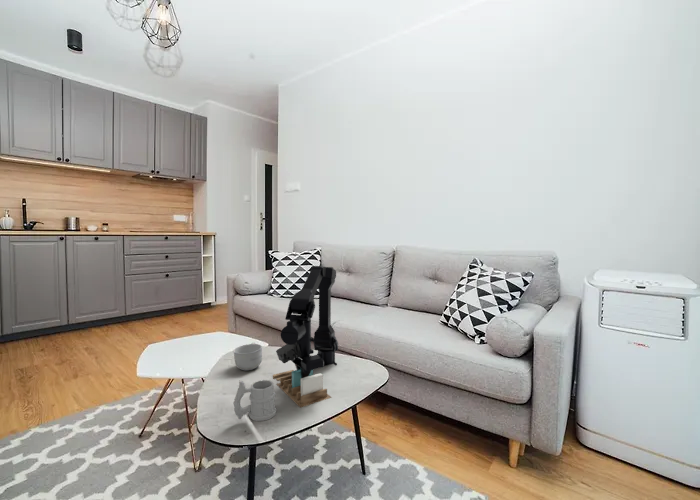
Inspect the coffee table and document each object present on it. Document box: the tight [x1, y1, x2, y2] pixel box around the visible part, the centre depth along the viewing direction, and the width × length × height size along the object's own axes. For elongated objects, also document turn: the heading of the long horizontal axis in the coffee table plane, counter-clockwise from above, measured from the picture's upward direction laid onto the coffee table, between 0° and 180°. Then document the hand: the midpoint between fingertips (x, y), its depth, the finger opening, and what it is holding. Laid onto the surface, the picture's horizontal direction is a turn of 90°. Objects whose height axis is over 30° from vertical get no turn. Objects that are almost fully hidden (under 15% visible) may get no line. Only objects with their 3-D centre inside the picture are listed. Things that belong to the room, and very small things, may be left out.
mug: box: [232, 379, 277, 422], centre depth 97 cm, size 8×12×12 cm, turn 112°
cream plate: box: [301, 372, 324, 396], centre depth 107 cm, size 7×2×7 cm, turn 124°
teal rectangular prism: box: [292, 369, 314, 388], centre depth 112 cm, size 7×2×7 cm, turn 124°
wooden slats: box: [272, 369, 295, 382], centre depth 124 cm, size 8×5×2 cm, turn 124°
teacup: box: [232, 342, 263, 371], centre depth 136 cm, size 14×11×8 cm
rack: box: [276, 375, 333, 409], centre depth 112 cm, size 11×19×4 cm, turn 34°
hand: (302, 380), depth 112 cm, fingers closed on teal rectangular prism, 2 cm apart
